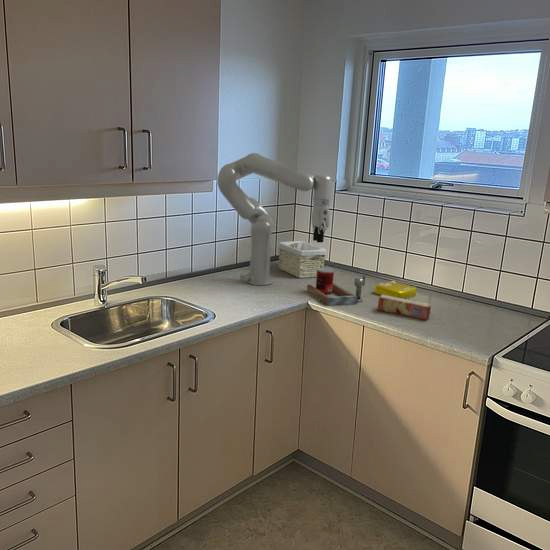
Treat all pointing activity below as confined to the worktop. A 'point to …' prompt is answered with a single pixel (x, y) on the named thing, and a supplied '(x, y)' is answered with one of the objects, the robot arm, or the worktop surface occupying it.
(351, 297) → the bay
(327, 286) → the canned food
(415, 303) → the snack package
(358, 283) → the grey metal upright piece
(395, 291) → the element tile
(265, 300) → the worktop surface
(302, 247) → the storage basket
